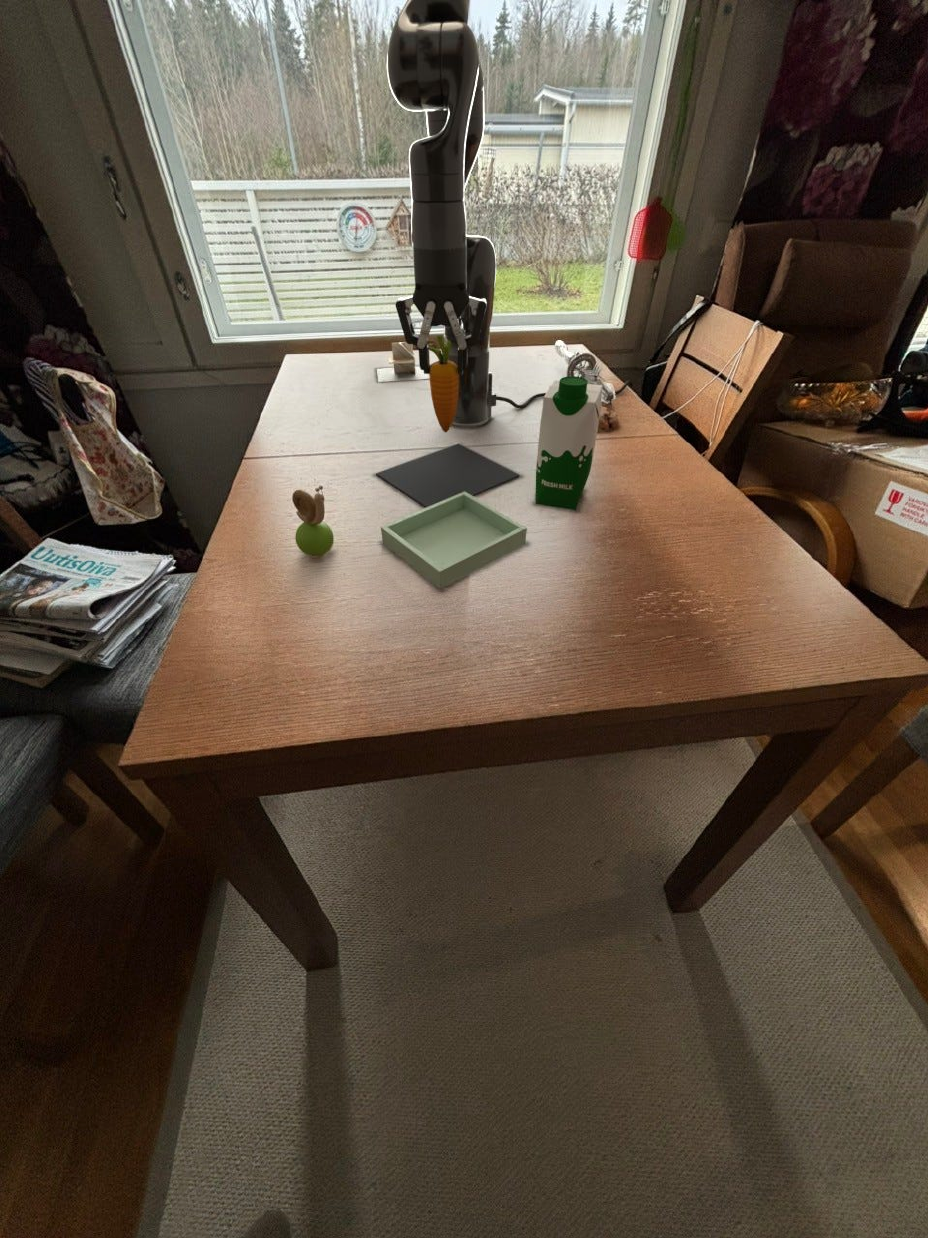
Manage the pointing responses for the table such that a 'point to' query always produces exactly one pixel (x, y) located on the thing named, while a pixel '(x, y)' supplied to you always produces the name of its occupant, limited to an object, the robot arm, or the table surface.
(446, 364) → the carrot
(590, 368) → the spaceship
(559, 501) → the milk carton
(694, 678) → the table surface
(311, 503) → the snail figurine
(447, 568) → the tray
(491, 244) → the robot arm
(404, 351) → the architectural model
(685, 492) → the table surface
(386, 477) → the mat
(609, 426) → the cookie
